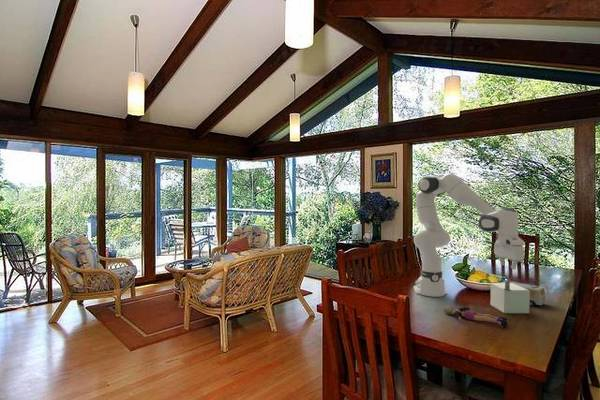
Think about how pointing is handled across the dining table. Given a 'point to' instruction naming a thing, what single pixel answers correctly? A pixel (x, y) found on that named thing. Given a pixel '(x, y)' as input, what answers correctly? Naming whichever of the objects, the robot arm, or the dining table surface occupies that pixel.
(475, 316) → the character figurine
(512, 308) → the end flap
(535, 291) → the toy car
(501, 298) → the carton
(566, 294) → the dining table surface
